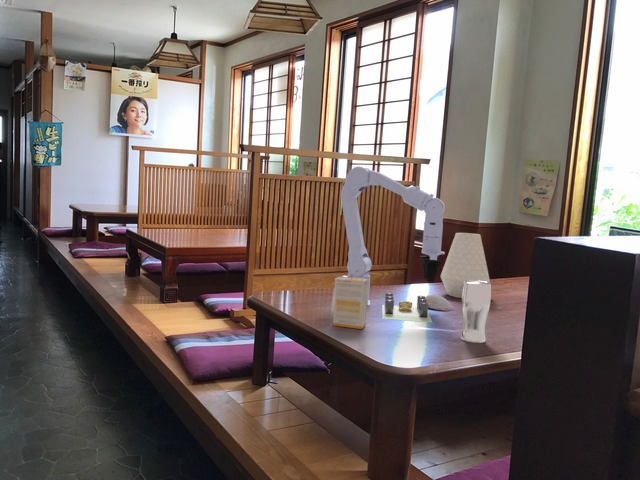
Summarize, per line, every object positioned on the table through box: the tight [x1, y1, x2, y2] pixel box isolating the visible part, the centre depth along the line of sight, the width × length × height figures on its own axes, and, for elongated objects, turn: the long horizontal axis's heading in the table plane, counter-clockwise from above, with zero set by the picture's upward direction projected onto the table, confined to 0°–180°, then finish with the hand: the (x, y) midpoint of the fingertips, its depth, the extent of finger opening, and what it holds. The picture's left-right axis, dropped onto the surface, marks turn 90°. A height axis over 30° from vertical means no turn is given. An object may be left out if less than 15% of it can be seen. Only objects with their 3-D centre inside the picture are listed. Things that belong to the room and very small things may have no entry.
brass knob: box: [398, 300, 413, 312], centre depth 170 cm, size 4×4×3 cm
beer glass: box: [460, 280, 492, 344], centre depth 140 cm, size 7×7×15 cm
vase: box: [440, 232, 490, 299], centre depth 203 cm, size 18×17×23 cm
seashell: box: [425, 294, 455, 312], centre depth 177 cm, size 10×6×10 cm
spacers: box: [384, 292, 429, 318], centre depth 169 cm, size 12×14×4 cm
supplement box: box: [332, 275, 368, 330], centre depth 149 cm, size 8×5×13 cm, turn 71°
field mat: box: [381, 304, 433, 323], centre depth 166 cm, size 14×20×1 cm
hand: (429, 280), depth 172 cm, fingers open, 7 cm apart
